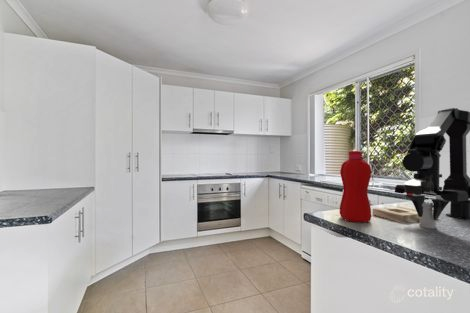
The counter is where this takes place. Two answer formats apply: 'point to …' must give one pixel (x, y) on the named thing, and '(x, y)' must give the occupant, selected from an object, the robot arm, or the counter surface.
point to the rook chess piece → (427, 216)
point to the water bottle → (355, 189)
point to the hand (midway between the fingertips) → (427, 218)
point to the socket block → (398, 213)
